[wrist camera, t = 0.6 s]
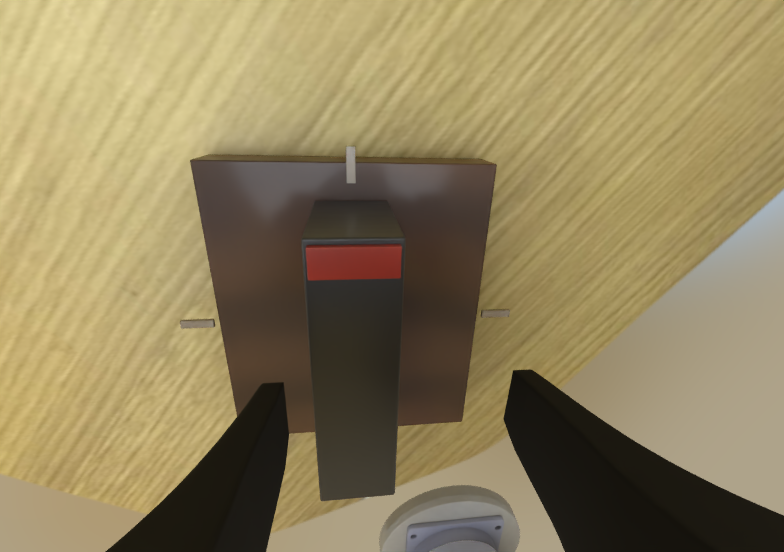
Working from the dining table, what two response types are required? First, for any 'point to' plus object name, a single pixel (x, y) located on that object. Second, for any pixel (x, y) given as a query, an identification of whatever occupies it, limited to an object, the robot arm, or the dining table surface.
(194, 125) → the dining table surface
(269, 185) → the brown pegged board
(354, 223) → the gray bar
